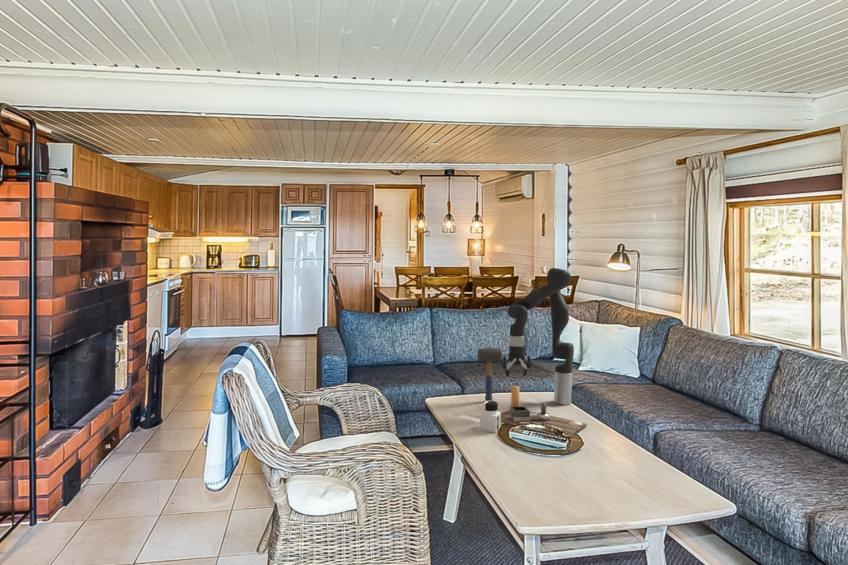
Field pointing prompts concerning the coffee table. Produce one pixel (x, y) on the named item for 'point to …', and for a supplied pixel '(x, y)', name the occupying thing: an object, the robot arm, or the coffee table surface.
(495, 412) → the container
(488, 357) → the rubber mallet
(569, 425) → the base
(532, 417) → the lever
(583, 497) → the coffee table surface
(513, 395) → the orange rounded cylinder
